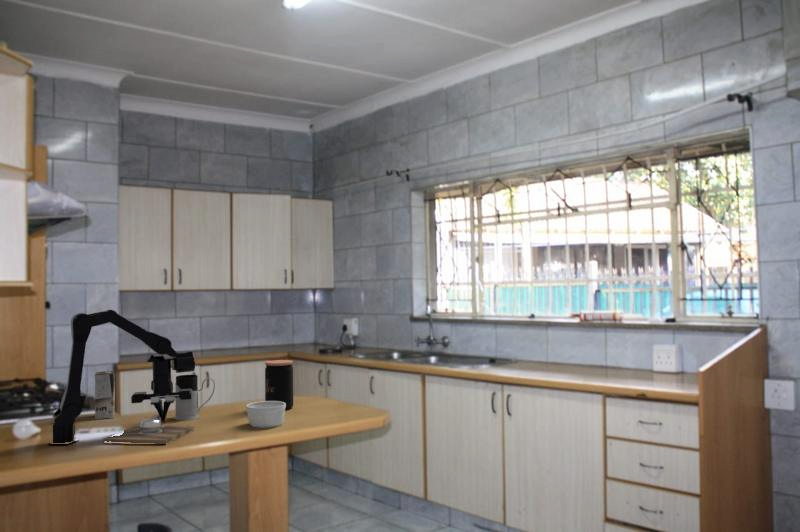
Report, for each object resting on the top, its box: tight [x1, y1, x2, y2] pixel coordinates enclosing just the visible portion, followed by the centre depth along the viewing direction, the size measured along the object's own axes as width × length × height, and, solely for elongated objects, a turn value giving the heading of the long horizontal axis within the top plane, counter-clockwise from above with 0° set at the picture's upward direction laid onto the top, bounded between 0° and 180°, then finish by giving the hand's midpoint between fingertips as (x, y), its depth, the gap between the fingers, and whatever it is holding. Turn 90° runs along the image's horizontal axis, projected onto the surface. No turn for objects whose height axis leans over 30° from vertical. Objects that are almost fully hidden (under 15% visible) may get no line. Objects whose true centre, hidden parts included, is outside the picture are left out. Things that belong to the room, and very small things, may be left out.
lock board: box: [103, 424, 195, 444], centre depth 218 cm, size 20×20×2 cm
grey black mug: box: [173, 374, 216, 421], centre depth 249 cm, size 9×14×15 cm, turn 113°
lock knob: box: [139, 413, 162, 433], centre depth 221 cm, size 12×6×3 cm, turn 7°
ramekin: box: [245, 400, 286, 429], centre depth 235 cm, size 13×13×7 cm
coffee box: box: [94, 370, 116, 420], centre depth 252 cm, size 9×6×16 cm
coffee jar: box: [264, 359, 294, 411], centre depth 263 cm, size 11×11×18 cm
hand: (163, 422), depth 226 cm, fingers closed
